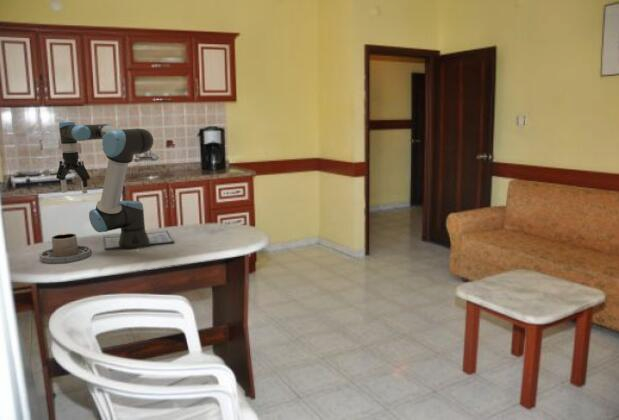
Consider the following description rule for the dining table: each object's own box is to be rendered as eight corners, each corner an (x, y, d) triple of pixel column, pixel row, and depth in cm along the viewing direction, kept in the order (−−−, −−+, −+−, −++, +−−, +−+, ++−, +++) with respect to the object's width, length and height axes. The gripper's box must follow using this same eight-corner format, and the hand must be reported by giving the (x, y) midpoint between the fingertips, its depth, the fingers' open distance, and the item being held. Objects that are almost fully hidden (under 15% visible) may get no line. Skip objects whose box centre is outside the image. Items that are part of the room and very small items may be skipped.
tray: (101, 252, 255) (100, 247, 254) (65, 265, 235) (65, 260, 234) (66, 248, 263) (66, 243, 262) (29, 261, 243) (29, 255, 242)
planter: (69, 259, 242) (66, 239, 240) (48, 258, 244) (46, 238, 243) (83, 252, 253) (81, 233, 251) (63, 252, 255) (61, 233, 253)
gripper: (94, 151, 264) (98, 192, 268) (57, 150, 273) (62, 190, 277) (83, 152, 257) (88, 194, 262) (45, 152, 266) (50, 192, 270)
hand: (74, 192), depth 269 cm, fingers open, 13 cm apart
